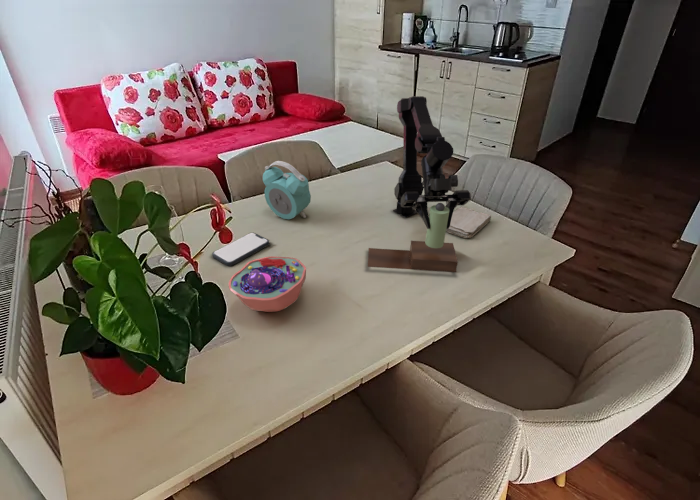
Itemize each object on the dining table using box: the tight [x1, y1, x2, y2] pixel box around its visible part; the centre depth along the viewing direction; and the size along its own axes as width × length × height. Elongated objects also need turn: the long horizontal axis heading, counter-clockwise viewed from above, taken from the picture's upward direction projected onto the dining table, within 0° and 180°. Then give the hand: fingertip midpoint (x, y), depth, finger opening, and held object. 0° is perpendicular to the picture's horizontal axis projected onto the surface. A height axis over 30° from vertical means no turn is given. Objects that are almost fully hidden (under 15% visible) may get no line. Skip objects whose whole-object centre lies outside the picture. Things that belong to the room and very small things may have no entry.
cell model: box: [228, 256, 307, 313], centre depth 109 cm, size 17×20×11 cm
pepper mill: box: [425, 202, 449, 248], centre depth 120 cm, size 5×5×13 cm
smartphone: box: [212, 232, 270, 267], centre depth 131 cm, size 9×2×16 cm
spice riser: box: [367, 240, 459, 273], centre depth 127 cm, size 10×25×5 cm, turn 86°
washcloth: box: [446, 206, 492, 239], centre depth 148 cm, size 12×18×3 cm, turn 142°
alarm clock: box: [262, 160, 312, 220], centre depth 146 cm, size 17×10×20 cm, turn 58°
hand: (438, 228), depth 119 cm, fingers closed on pepper mill, 5 cm apart
